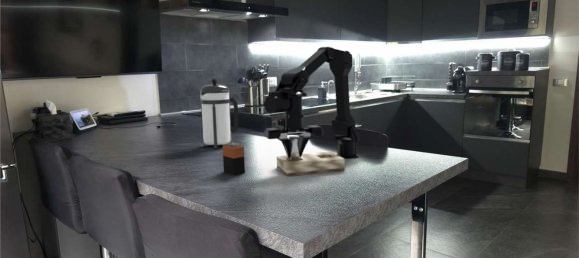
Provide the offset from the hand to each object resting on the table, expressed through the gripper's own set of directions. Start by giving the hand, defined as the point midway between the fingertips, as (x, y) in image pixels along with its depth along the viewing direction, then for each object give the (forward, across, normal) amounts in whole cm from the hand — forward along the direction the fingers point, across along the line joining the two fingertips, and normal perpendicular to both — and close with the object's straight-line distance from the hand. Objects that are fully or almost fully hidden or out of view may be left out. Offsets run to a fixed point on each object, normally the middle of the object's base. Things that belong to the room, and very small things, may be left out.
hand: (294, 157), depth 132 cm
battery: (+5, +20, -5) cm, 21 cm away
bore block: (+4, -6, 0) cm, 7 cm away
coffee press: (+5, +18, -54) cm, 57 cm away
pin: (+2, 0, 0) cm, 2 cm away
